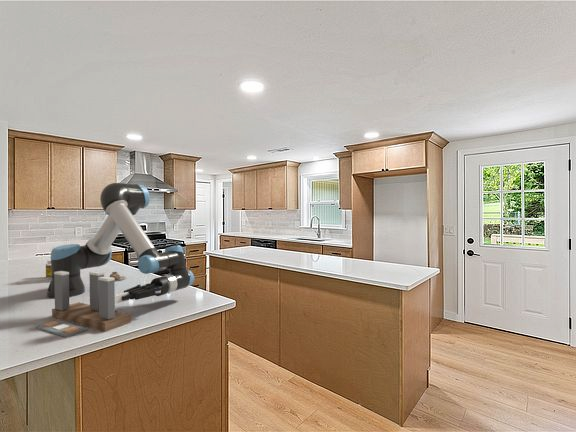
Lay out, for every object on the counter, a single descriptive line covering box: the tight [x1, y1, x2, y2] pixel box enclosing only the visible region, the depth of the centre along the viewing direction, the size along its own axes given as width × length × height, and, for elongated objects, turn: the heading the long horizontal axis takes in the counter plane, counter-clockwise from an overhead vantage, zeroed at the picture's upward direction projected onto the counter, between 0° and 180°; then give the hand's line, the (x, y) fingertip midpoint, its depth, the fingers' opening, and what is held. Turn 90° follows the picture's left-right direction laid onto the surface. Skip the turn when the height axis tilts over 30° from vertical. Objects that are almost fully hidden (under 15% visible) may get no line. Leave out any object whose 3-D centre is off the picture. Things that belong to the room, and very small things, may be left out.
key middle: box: [88, 270, 105, 311], centre depth 125 cm, size 3×5×14 cm, turn 63°
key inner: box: [54, 271, 70, 311], centre depth 125 cm, size 3×5×14 cm, turn 63°
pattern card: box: [35, 319, 88, 338], centre depth 113 cm, size 18×7×1 cm, turn 63°
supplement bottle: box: [45, 259, 51, 279], centre depth 192 cm, size 6×6×10 cm
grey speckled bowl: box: [109, 271, 127, 282], centre depth 188 cm, size 12×12×5 cm
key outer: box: [98, 275, 116, 319], centre depth 116 cm, size 3×5×14 cm, turn 63°
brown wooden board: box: [51, 301, 132, 333], centre depth 123 cm, size 32×10×3 cm, turn 63°
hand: (111, 300), depth 117 cm, fingers closed
